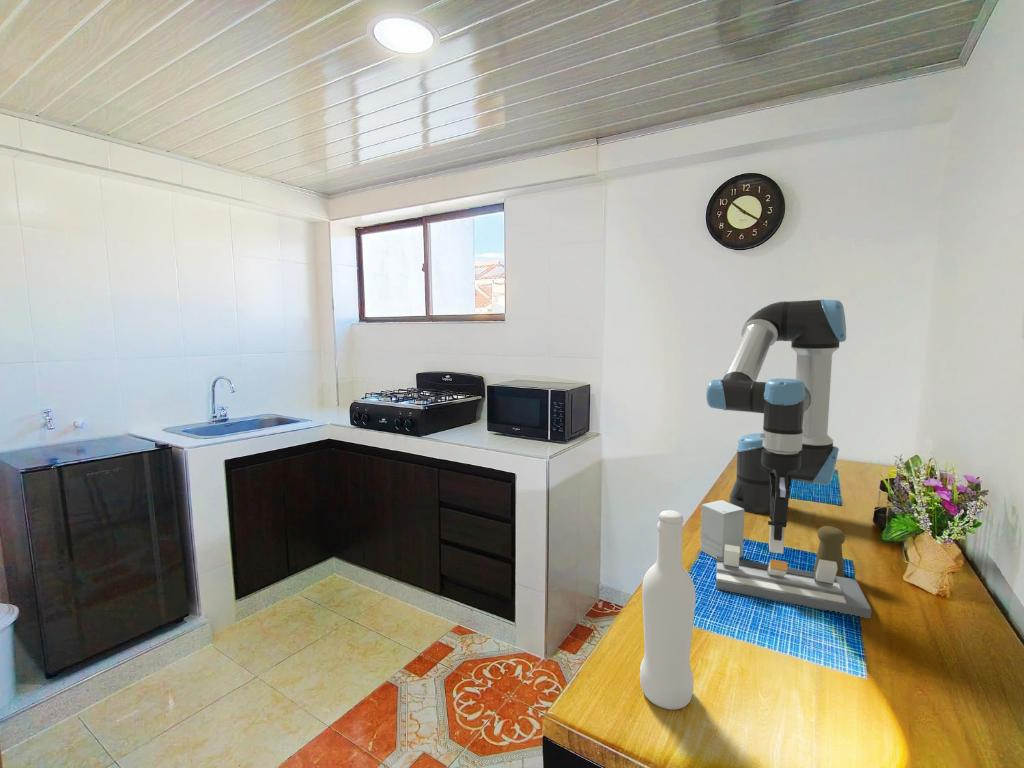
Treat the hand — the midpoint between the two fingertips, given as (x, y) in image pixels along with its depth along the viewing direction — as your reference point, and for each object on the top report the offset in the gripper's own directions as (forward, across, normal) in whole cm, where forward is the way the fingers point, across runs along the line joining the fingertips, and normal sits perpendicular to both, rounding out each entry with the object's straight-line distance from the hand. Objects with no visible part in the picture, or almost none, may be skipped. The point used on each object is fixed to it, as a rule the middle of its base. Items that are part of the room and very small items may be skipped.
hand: (776, 551), depth 105 cm
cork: (+8, -9, +12) cm, 17 cm away
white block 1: (+4, +2, -9) cm, 10 cm away
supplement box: (+8, -10, -11) cm, 17 cm away
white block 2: (+4, +2, +9) cm, 10 cm away
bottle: (+7, +43, -19) cm, 48 cm away
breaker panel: (+7, +2, +2) cm, 8 cm away
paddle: (+4, +2, 0) cm, 5 cm away
